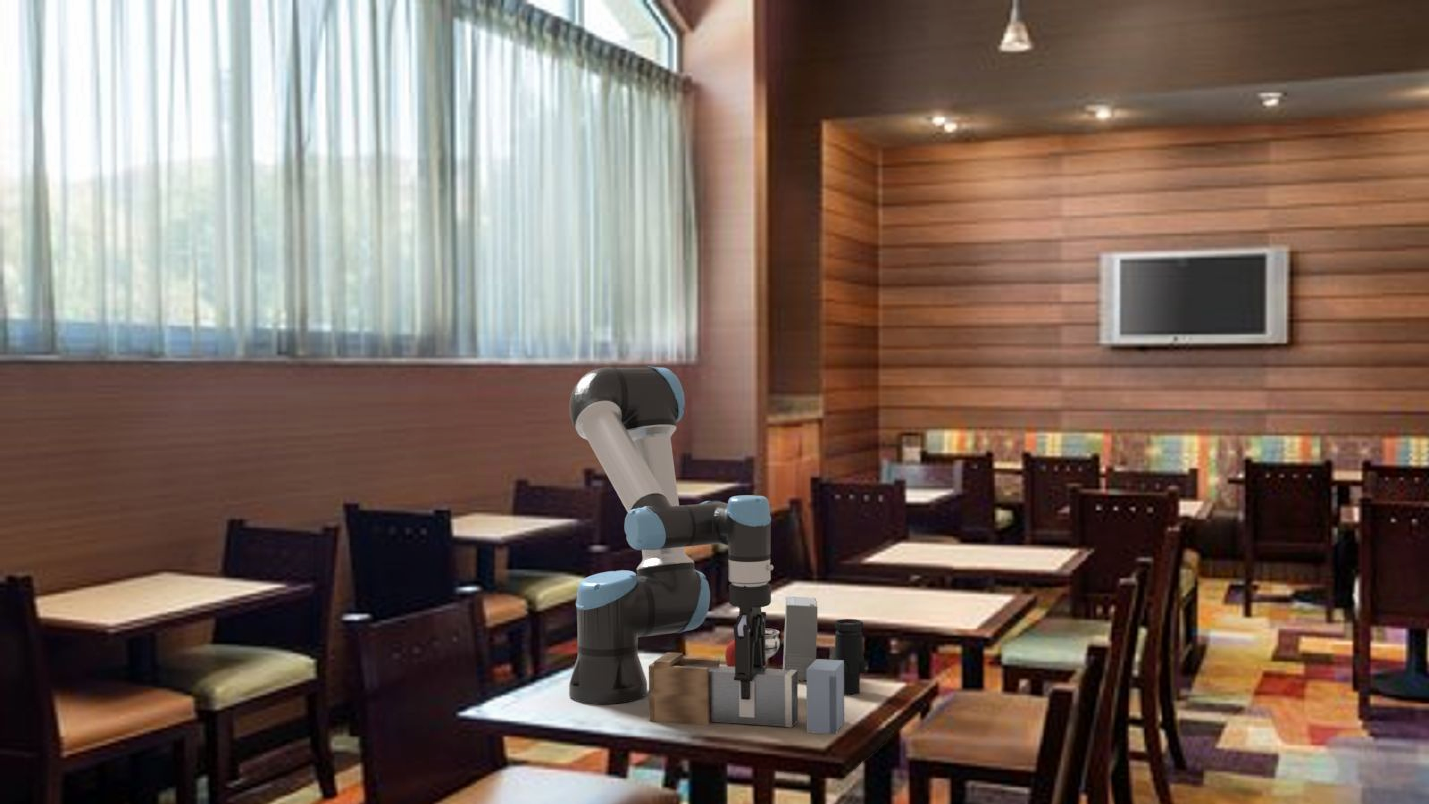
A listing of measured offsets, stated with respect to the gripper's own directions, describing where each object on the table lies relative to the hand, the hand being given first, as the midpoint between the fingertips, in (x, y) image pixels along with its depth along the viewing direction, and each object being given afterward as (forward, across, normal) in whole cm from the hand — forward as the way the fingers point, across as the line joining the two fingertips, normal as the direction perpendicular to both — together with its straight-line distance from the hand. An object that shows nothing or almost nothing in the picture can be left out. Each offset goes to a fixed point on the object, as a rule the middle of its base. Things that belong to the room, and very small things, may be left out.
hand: (751, 712), depth 236 cm
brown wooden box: (+2, 0, +12) cm, 12 cm away
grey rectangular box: (+2, 0, +2) cm, 3 cm away
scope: (+2, +25, -12) cm, 28 cm away
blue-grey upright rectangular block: (+2, 0, -14) cm, 14 cm away
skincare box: (+2, +35, -1) cm, 35 cm away
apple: (+2, +29, +9) cm, 30 cm away
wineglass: (+2, +20, +3) cm, 20 cm away
